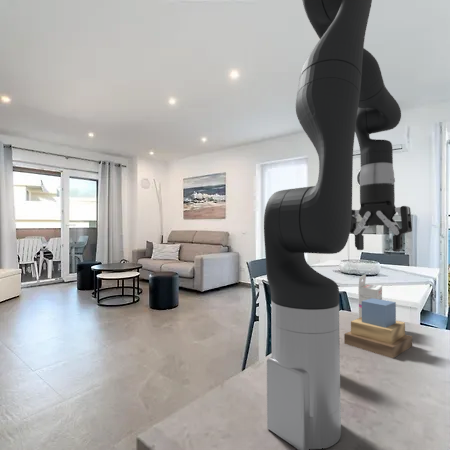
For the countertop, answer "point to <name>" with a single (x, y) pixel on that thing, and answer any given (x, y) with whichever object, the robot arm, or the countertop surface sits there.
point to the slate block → (379, 312)
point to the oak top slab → (378, 331)
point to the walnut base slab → (379, 344)
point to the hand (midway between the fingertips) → (377, 250)
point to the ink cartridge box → (367, 292)
